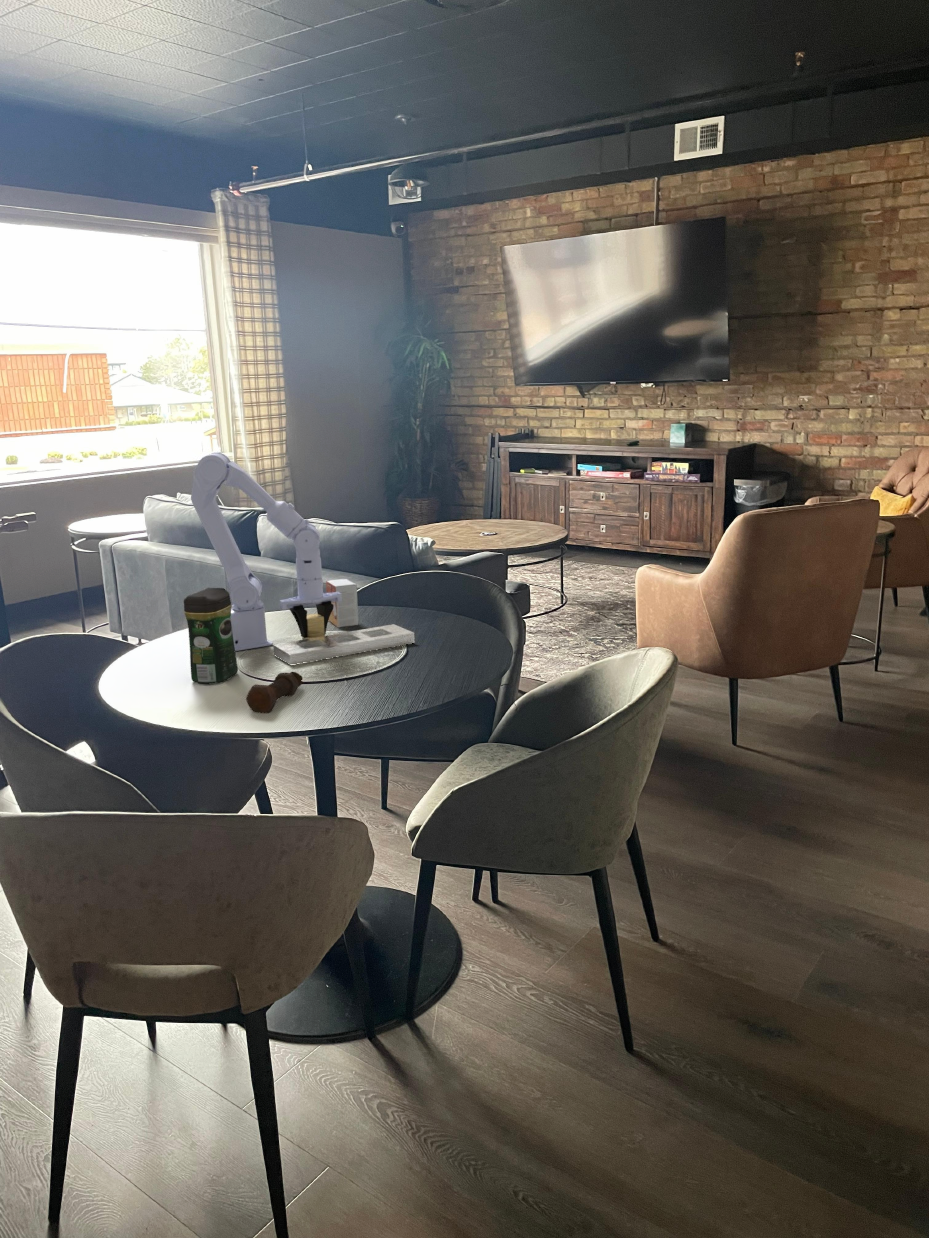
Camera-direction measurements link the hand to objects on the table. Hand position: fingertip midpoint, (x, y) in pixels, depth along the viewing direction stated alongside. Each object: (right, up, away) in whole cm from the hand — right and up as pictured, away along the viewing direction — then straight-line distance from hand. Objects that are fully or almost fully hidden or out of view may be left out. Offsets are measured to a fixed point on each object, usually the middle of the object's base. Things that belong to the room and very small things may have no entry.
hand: (313, 635), depth 213 cm
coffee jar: (-16, -9, -26) cm, 32 cm away
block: (0, -1, 0) cm, 1 cm away
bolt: (0, -12, -40) cm, 42 cm away
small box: (+5, +3, +17) cm, 18 cm away
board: (+8, -3, -7) cm, 11 cm away
